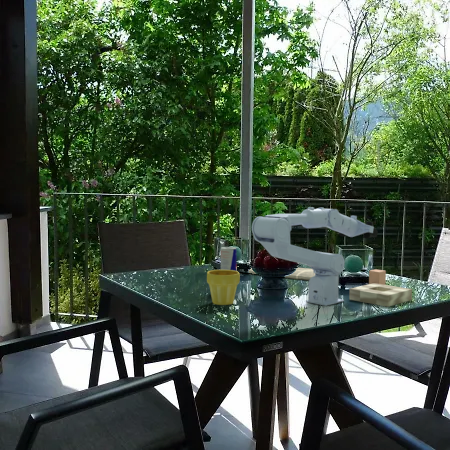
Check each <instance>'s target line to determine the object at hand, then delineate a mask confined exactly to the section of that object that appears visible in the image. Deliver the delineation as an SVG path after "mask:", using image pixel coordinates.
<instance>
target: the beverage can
mask: <svg viewBox="0 0 450 450" xmlns="http://www.w3.org/2000/svg"><path fill="white" fill-rule="evenodd" d="M237 252H238V251H237V247H234V246H222V247H220V270H234V271H237V267H238V266H237V265H238V264H237V263H238V262H237V260H238V259H237Z"/></svg>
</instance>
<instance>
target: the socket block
mask: <svg viewBox="0 0 450 450" xmlns="http://www.w3.org/2000/svg"><path fill="white" fill-rule="evenodd" d="M348 295H349V299H348V300H350V301H356V302H361V303H366V304H371V305H377V306H381V307H382V306H383V307H387V308H388V307H391V306H392V307H393V306H395V305H400V304H403V303H407V302H409V301H412V300H413V289H412V288H407V287H406V288H405V287H400V286H393V285H389V284H386V285H382V284H376V283H373V284H369V283H368V284H364V285H360V286H356V287H352V288H349V294H348Z"/></svg>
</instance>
